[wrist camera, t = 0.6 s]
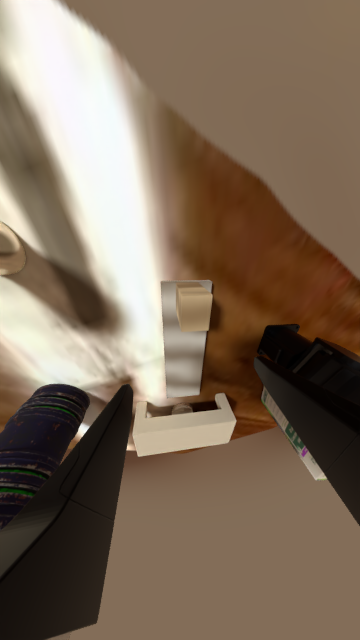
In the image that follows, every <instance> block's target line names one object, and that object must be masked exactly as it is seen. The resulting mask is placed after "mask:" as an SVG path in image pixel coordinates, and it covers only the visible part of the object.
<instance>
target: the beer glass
mask: <svg viewBox="0 0 360 640" xmlns="http://www.w3.org/2000/svg"><path fill="white" fill-rule="evenodd" d="M25 260H26V256H25V251H24V248H23V246H22V244H21V242H20V240H19V239H18V237H17V236H16V235H15V234H14V232H13V231H12V230H11V229H10V228H8V227H7V226H6V225H5V224H4V223H2V222H1V221H0V275H10V274H14V273H17V272H19V271H20V270H21V269H22V268H23V267H24V265H25Z"/></svg>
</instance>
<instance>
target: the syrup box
mask: <svg viewBox="0 0 360 640" xmlns="http://www.w3.org/2000/svg"><path fill="white" fill-rule="evenodd" d="M263 388H264V389H263V393H262V397H261V401H262V403H263V404H264V406H265V407H266V409H267V410H268V411H269V413H270V414H271V416H272V417H273V419H274V420H275V422H276V423H277V425H278V426H279V428H280V429H281V430H282V432H283V433H284V435H285V436H286V438H287V439H288V441H289V442H290V444H291V445H292V446H293V448H294V449H295V451H296V452H297V454H298V455H299V457H300V458H301V459H302V461H303V463H304V464H305V465H306V467H307V468H308V470H309V471H310V473H311V474H312V476H313V477H314V478H315V480H317V481H319V480H320V481H321V480H328V479H327V478H326V476H325V475H324V473H323V472H322V470H321V469H320V467H319V466H318V464H317V463H316V461H315V460H314V458H313V457H312V456H311V454H310V453H309V451H308V450H307V448H306V447H305V445H304V444H303V442H302V441H301V440H300V438H299V437H298V435H297V434H296V432H295V431H294V429H293V428H292V426H291V425H290V423H289V422H288V421H287V419H286V418H285V416H284V415H283V413H282V412H281V410H280V409H279V407H278V406H277V405H276V403H275V402H274V400H273V399H272V397H271V396H270V394H269V393H268V391H267V390H266V388H265V386H264V387H263Z"/></svg>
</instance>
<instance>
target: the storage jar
mask: <svg viewBox="0 0 360 640" xmlns="http://www.w3.org/2000/svg"><path fill="white" fill-rule="evenodd" d="M89 403H90V400H89V397H88V396H87V394H86V393H85V392H83V391H82V390H80V389H78V388H76V387H74V386H70V385H65V384H49V385H45V386H42V387H40V388H39V389H37V390H36V391H35V392H34V394H33V395H32V397H31V398H29V399H28V400H27V402H25V403H24V404H23V405H22V406H21V407H20V408H19V409H18V410H17V412H16V413H15V414H14V415H13V416H12V417H11V418H10V419H9V421H8V422H7V423H6V425H5V429H4V430H3V431H2V432H1V433H0V531H1V530H2V529H3V528H4V527H5V526H6V525H7V524H8V523H9V522H11V521H12V520H13V518H14V517H15V516H16V515H17V514H18V513H19V512H20V511H21V510H22V509H23V508H24V506H25V505H26V504H27V503H28V502H29V501H30V500H31V498H32V497H33V496H34V495H35V494H36V493H37V491H38V490H39V489H40V488H41V487H42V486H43V484H44V483H45V482H46V481H47V480H48V479H49V477H50V476H51V475H52V474H53V473H54V472H55V470H56V469H57V468H58V467H59V465H60V463H61V461H62V459H63V456H64V454H65V452H66V450H67V448H68V446H69V444H70V442H71V440H72V439H73V438H74V437H75V435H76V434H77V432H78V429H79V427H80V425H81V423H82V421H83V418H84V415H85V412H86V410H87V408H88V406H89Z"/></svg>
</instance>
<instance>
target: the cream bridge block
mask: <svg viewBox="0 0 360 640" xmlns="http://www.w3.org/2000/svg"><path fill="white" fill-rule="evenodd" d="M215 401H216V404H217V406H218V409H219V410H211V411H202V412H194V413H186V414H178V415H169V416H161V417H153V418H147V401H145V402H137V408H136V415H135V421H134V428H133V434H132V435H133V439H134V443H135V446H136V450H137V454H138V457H139V456H145V455H152V454H158V453H165V452H172V451H178V450H185V449H191V448H198V447H205V446H211V445H218V444H224V443H228V442H229V440H230V437H231V434H232V432H233V429H234V426H235V424H236V419H235V416H234V414H233V412H232V410H231V407H230V405H229V403H228V401H227V398H226V396H225V394H224V393H220V394H216V396H215Z"/></svg>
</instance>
